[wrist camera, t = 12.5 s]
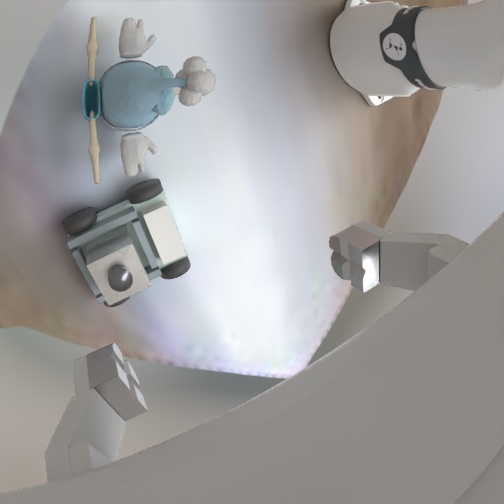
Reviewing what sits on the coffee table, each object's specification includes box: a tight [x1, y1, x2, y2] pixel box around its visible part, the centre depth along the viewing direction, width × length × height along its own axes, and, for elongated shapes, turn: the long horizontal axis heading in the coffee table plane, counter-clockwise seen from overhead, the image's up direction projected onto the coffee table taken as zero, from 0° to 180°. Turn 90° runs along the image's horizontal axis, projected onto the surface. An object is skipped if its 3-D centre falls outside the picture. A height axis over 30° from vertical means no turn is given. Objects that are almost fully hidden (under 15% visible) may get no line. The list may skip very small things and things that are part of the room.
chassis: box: [63, 179, 190, 307], centre depth 35 cm, size 12×11×4 cm
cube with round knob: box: [86, 225, 152, 306], centre depth 32 cm, size 5×5×7 cm
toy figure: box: [82, 17, 215, 184], centre depth 25 cm, size 17×10×15 cm, turn 0°
